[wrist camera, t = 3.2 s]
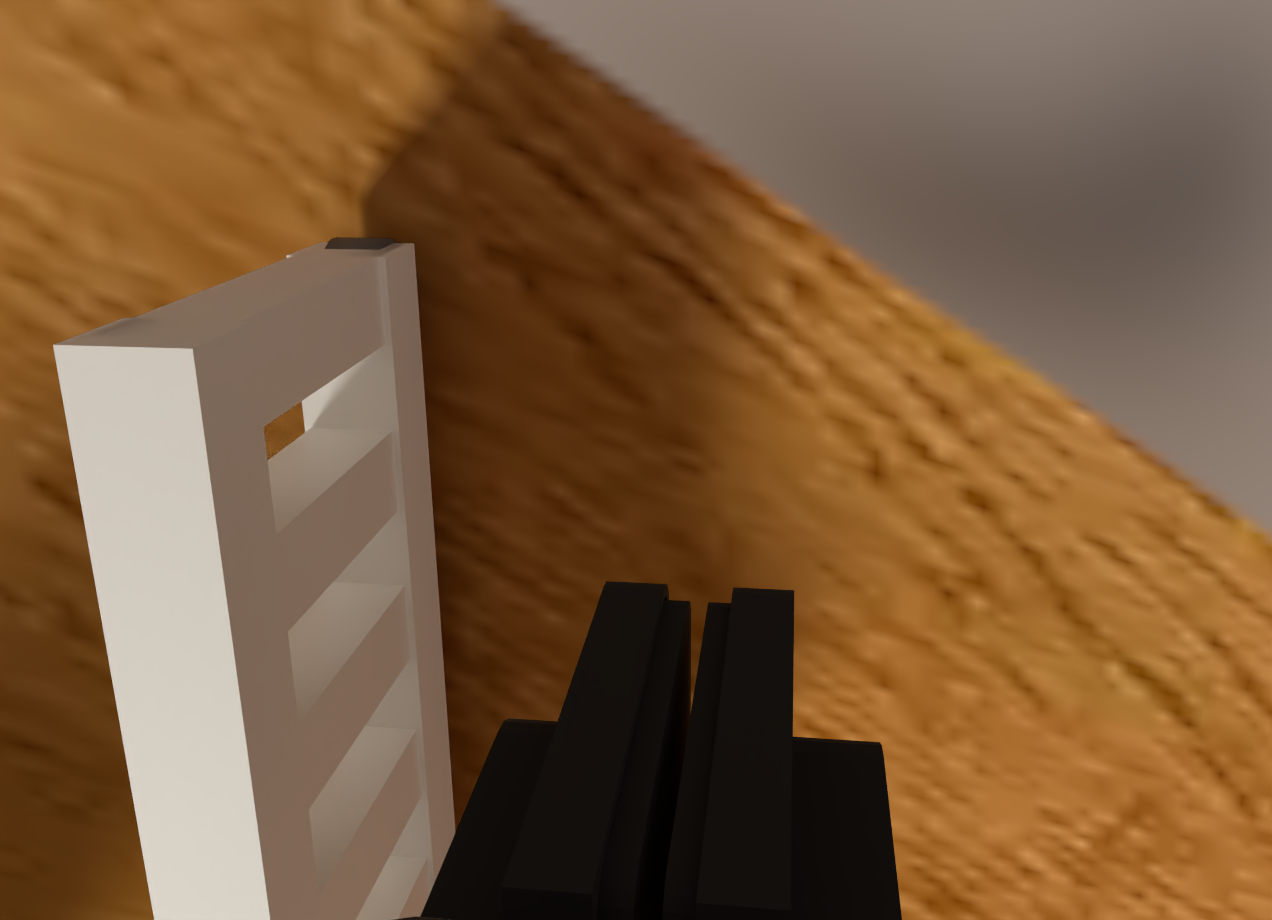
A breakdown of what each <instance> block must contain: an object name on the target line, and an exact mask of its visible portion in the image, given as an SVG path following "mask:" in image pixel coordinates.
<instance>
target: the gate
mask: <svg viewBox="0 0 1272 920" xmlns="http://www.w3.org/2000/svg"><path fill="white" fill-rule="evenodd" d="M286 257H287V258H286V259H283V260H281V261H278V262H276V263H273V264H270V265H268V266H265V267H263V268H260V269H258V270H255V271H252V272H250V273H247V274H245V275H242V276H240V277H237V278H234V279H232V280H229V281H227V282H224V283H222V284H219V285H216V286H214V287H211V288H209V289H206V290H204V291H201V292H198V293H196V294H193V295H191V296H188V297H186V298H183V299H180V300H178V301H175V302H173V303H170V304H168V305H165V306H162V307H160V308H157V309H155V310H152V311H150V312H147V313H144V314H142V315H139V316H137V317H134V318H122V319H119V320H117V321H114V322H112V323H109V324H106V325H104V326H101V327H98V328H96V329H93V330H91V331H88V332H85V333H83V334H80V335H78V336H75V337H72V338H70V339H67V340H65V341H62V342H59V343H57V344H54V345H53V347H54V353H55V359H56V364H57V370H58V376H59V381H60V387H61V393H62V398H63V404H64V410H65V415H66V421H67V427H68V433H69V438H70V444H71V450H72V455H73V461H74V467H75V472H76V478H77V484H78V489H79V495H80V501H81V506H82V512H83V518H84V523H85V529H86V535H87V540H88V546H89V552H90V558H91V563H92V569H93V575H94V580H95V586H96V592H97V597H98V603H99V609H100V614H101V620H102V626H103V631H104V637H105V643H106V648H107V654H108V660H109V665H110V671H111V677H112V683H113V688H114V694H115V700H116V705H117V711H118V717H119V722H120V728H121V734H122V739H123V745H124V751H125V756H126V762H127V768H128V773H129V779H130V785H131V790H132V796H133V802H134V808H135V813H136V819H137V825H138V830H139V836H140V842H141V847H142V853H143V859H144V864H145V870H146V876H147V881H148V887H149V893H150V898H151V904H152V910H153V916H154V920H394V919H401V918H408V917H415V916H417V917H420V916H421V914H422V911H423V909H424V906H425V904H426V902H427V899H428V897H429V895H430V892H431V890H432V887H433V885H434V883H435V880H436V878H437V876H438V873H439V871H440V868H441V866H442V864H443V861H444V859H445V857H446V854H447V852H448V849H449V847H450V845H451V842H452V840H453V838H454V835H455V819H454V805H453V790H452V776H451V762H450V748H449V734H448V719H447V705H446V691H445V677H444V662H443V648H442V634H441V620H440V605H439V591H438V577H437V563H436V548H435V534H434V520H433V506H432V491H431V477H430V463H429V449H428V435H427V420H426V406H425V392H424V378H423V363H422V349H421V335H420V321H419V306H418V292H417V278H416V264H415V249H414V243H397V242H396V241H395V240H394V239H392V238H338V237H336V238H333V239H331V240H330V241H329V242H320V243H318V244H315V245H312V246H310V247H307V248H305V249H302V250H299V251H297V252H294V253H292V254H289V255H286ZM301 401H302V407H303V417H304V426H305V433H304V434H302V435H301V436H300V437H298V438H297V439H296V440H294V441H293V442H292V443H290V444H289V445H288V446H286V447H285V448H284V449H282V450H281V451H280V452H278V453H277V454H276V455H274V456H273V457H272V458H270V459H269V460H267V452H266V443H265V435H264V426H266V425H267V424H269V423H270V422H272V421H273V420H275V419H276V418H277V417H279V416H280V415H282V414H283V413H285V412H286V411H288V410H289V409H291V408H292V407H294V406H295V405H297V404H298V403H300V402H301Z"/></svg>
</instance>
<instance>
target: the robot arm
mask: <svg viewBox="0 0 1272 920" xmlns="http://www.w3.org/2000/svg"><path fill="white" fill-rule="evenodd" d="M793 650H794V590H773V589H753V588H733V593H732V601H731V603H713V602H709V603H708V608H707V614H706V621H705V627H704V633H703V640H702V646H701V653H700V659H699V665H698V672H697V678H696V684H695V691H694V697H693V704H692V710H691V716H690V705H691V606H690V601H674V600H669V592H668V586H667V584H650V583H629V582H609V581H606V583H605V585H604V588H603V591H602V594H601V597H600V600H599V603H598V605H597V608H596V611H595V614H594V617H593V620H592V623H591V626H590V629H589V632H588V635H587V638H586V640H585V643H584V646H583V649H582V652H581V655H580V658H579V661H578V664H577V667H576V670H575V673H574V675H573V678H572V681H571V684H570V687H569V690H568V693H567V696H566V699H565V702H564V705H563V708H562V710H561V713H560V716H559V719H558V722H555V721H539V720H524V719H507V720H505V721H504V722H503V724H502V726H501V727H500V729H499V731H498V733H497V735H496V738H495V740H494V742H493V745H492V747H491V750H490V752H489V754H488V757H487V759H486V761H485V764H484V766H483V769H482V771H481V773H480V776H479V778H478V780H477V783H476V785H475V788H474V790H473V792H472V795H471V797H470V799H469V802H468V804H467V807H466V809H465V811H464V814H463V816H462V819H461V821H460V823H459V826H458V828H457V830H456V833H455V835H454V838H453V840H452V842H451V845H450V847H449V849H448V852H447V854H446V857H445V859H444V861H443V864H442V866H441V868H440V871H439V873H438V876H437V878H436V880H435V883H434V885H433V887H432V890H431V892H430V895H429V897H428V899H427V902H426V904H425V906H424V909H423V911H422V914H421V916H420V917H417V916H415V917H408V918H401V919H394V920H902V917H901V908H900V899H899V890H898V881H897V872H896V863H895V854H894V845H893V836H892V827H891V818H890V809H889V800H888V791H887V782H886V773H885V764H884V756H883V750H882V745H881V744H880V742H865V741H850V740H834V739H819V738H803V737H793Z"/></svg>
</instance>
